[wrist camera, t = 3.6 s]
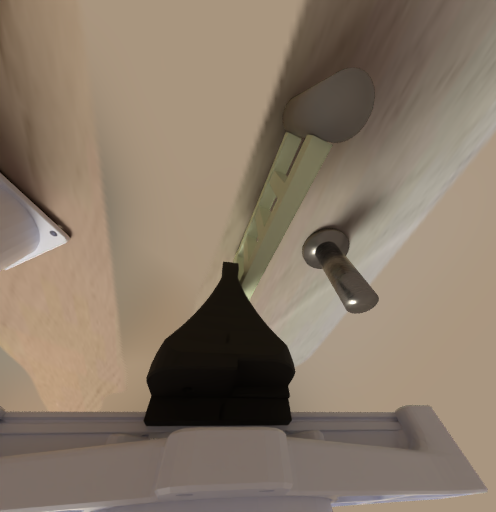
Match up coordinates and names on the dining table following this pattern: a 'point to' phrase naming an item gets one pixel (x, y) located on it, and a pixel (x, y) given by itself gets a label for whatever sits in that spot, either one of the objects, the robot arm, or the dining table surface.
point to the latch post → (339, 269)
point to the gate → (302, 162)
